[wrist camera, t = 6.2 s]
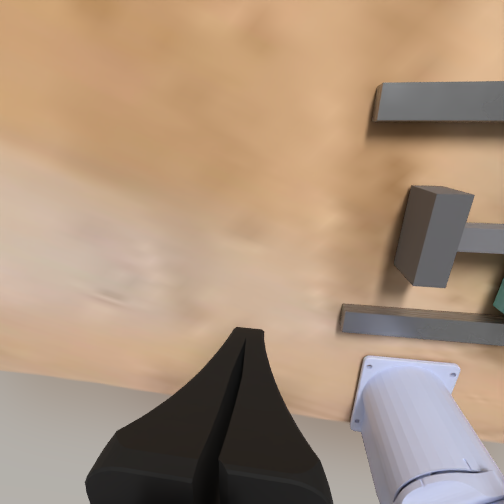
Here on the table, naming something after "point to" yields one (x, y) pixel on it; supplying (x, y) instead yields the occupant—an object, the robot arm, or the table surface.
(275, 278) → the table surface
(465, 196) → the sliding jaw
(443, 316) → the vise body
